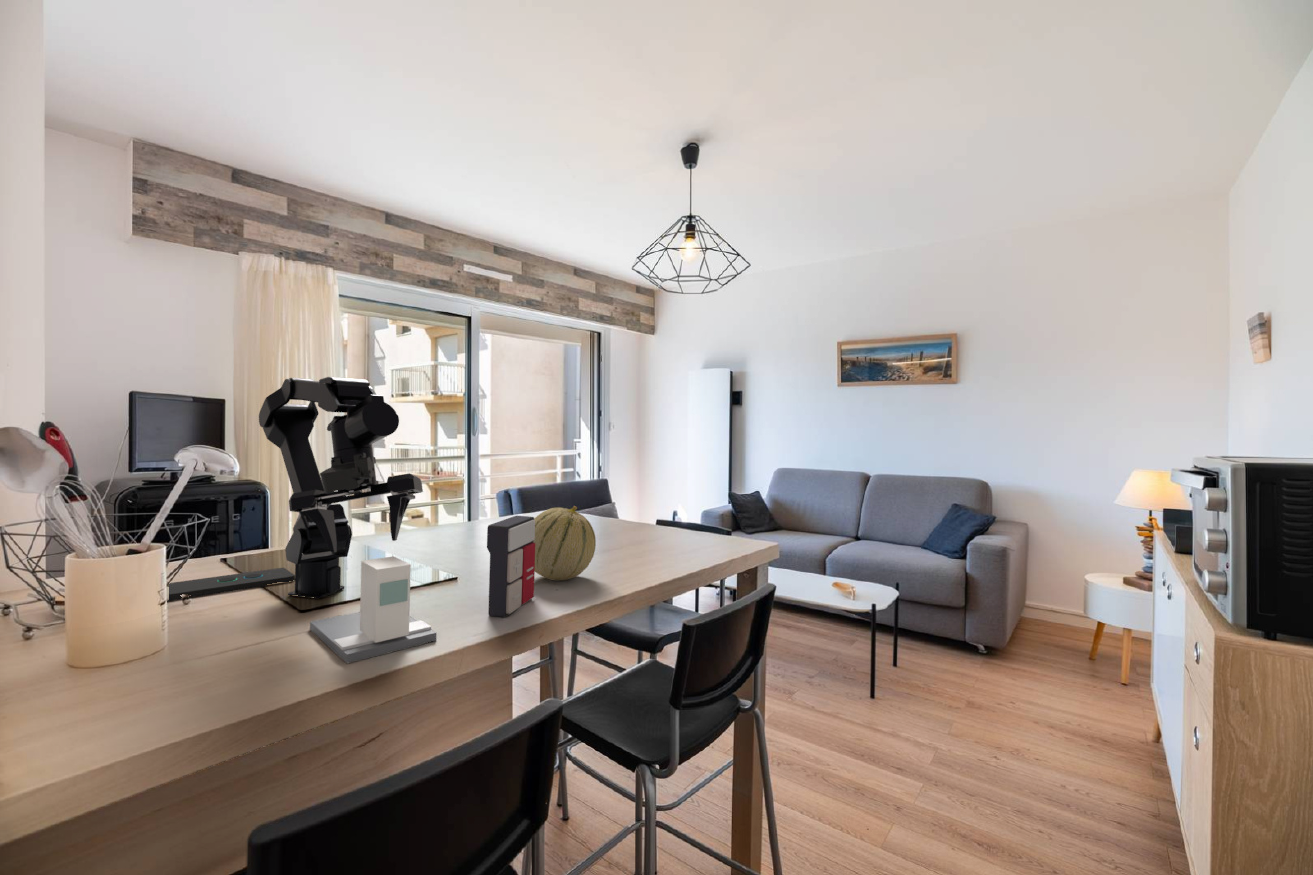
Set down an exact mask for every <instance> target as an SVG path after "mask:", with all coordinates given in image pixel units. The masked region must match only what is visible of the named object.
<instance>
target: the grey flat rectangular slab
mask: <svg viewBox="0 0 1313 875" xmlns="http://www.w3.org/2000/svg"><path fill="white" fill-rule="evenodd" d="M309 630H310V631H311V632H312V633H313V634H314V635H315V636H316V637H317V638H318V639H320V640H321V641H322V642H323V643H324V644H325V645H326V646H327V647H328V648H329V649H330V650H332V652H334V654H336V655H337V656H338V657H339V658H340V659H341V660H342V661H343V662H344V663H346V664H350V663H351V664H352V663H354V662H358V661H362V659H363V660H366V659H369V658H374V657H378V656H382V655H385V654H389V653H394V652H397V650H398V651H401V650H404V649H410V648H413V646H414V647H417V646H421V645H425V644H428V642H429V643H432V642H431V641H433V642H436V641H437V632H436V631H435V630H432V626H431V625H430V624H428V623H426V622H425V621H423V620H421V619H420V620H417V619H416V618H414V617H413V616H410V615H409V635H406V636H402V637H398V638H394V639H389V640H385V641H381V642H377V643H375V642H374V641H373V640H371V639H370V638H369V637H368V636H366V635H365V634H364V633H362V632H361V631H360V611H356V612H351V613H347V614H342V615H336V616H332V617H331V616H330V617H326V618H321V619H314V620H312V621H311V620H310V621H309ZM424 643H425V644H424ZM409 647H410V648H409ZM393 651H394V652H393Z"/></svg>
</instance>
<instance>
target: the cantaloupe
mask: <svg viewBox="0 0 1313 875" xmlns="http://www.w3.org/2000/svg"><path fill="white" fill-rule="evenodd" d="M577 509H578V507H577V506H575V505H573V507H571V508H570V509H569V508H565V507H551V508H548V509H546V510H544V511H542V512H541V513H539V514H538V515H536V517H534V520H535V539H534V543H535V573H536V574H537V575H539V576H541V577H542V578H544V579H547V580H548V579H549V580H550V581H566V580H571V579H574V578H576V577H578V576H579V575H581V574H582V573H583V572H584V571H585V570H586V569H587V568H588V567H589V565H590V563H591V562H592V560H593V558H594V555H595V552H596V534H595V530H594V528H593V525H592V524H591V522H590V521H589V519H587V518H586V517H585V516H584V515H583V514H581V513H579V512H578V511H576V510H577Z"/></svg>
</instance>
